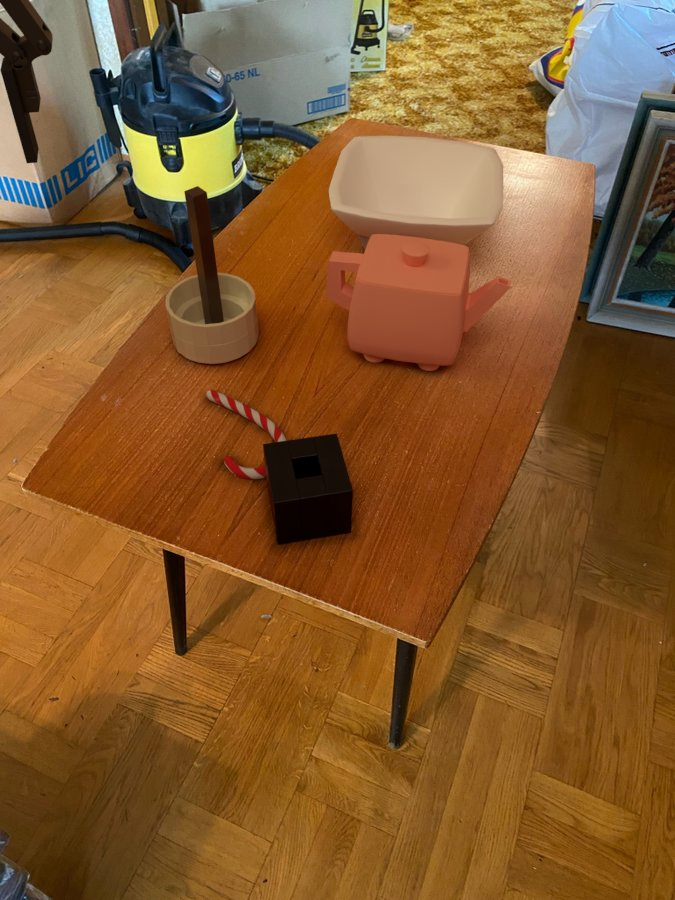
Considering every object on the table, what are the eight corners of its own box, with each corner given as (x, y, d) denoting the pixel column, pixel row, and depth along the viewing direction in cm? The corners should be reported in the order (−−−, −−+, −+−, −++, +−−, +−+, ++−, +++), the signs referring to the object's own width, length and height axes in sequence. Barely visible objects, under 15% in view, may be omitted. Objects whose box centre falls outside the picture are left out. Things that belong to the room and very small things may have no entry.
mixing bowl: (162, 362, 90) (153, 321, 85) (187, 309, 97) (180, 268, 92) (248, 371, 89) (243, 330, 84) (266, 317, 96) (263, 276, 91)
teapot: (497, 325, 96) (519, 230, 85) (490, 388, 87) (513, 292, 77) (337, 302, 98) (339, 208, 88) (316, 361, 90) (315, 265, 80)
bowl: (320, 277, 102) (319, 212, 95) (346, 191, 119) (347, 129, 111) (489, 295, 100) (503, 230, 92) (492, 204, 116) (504, 142, 109)
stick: (214, 341, 92) (193, 197, 77) (206, 334, 93) (183, 190, 78) (226, 335, 92) (207, 191, 78) (217, 329, 93) (197, 185, 78)
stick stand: (277, 545, 72) (273, 502, 66) (267, 487, 77) (262, 443, 71) (351, 533, 73) (353, 490, 68) (336, 476, 78) (336, 433, 72)
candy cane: (231, 377, 86) (304, 450, 78) (232, 384, 87) (304, 458, 79) (174, 404, 83) (244, 484, 75) (176, 412, 84) (245, 492, 76)
